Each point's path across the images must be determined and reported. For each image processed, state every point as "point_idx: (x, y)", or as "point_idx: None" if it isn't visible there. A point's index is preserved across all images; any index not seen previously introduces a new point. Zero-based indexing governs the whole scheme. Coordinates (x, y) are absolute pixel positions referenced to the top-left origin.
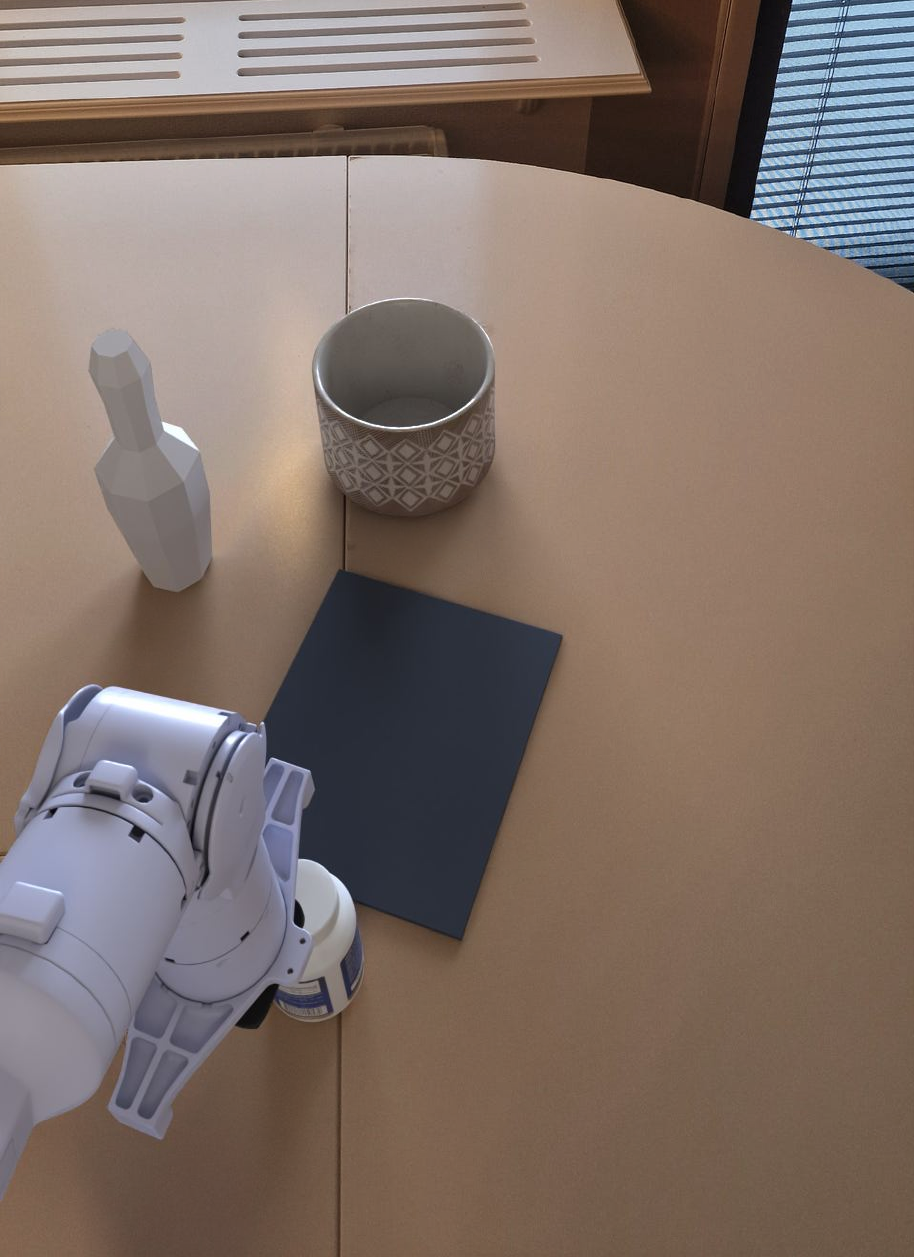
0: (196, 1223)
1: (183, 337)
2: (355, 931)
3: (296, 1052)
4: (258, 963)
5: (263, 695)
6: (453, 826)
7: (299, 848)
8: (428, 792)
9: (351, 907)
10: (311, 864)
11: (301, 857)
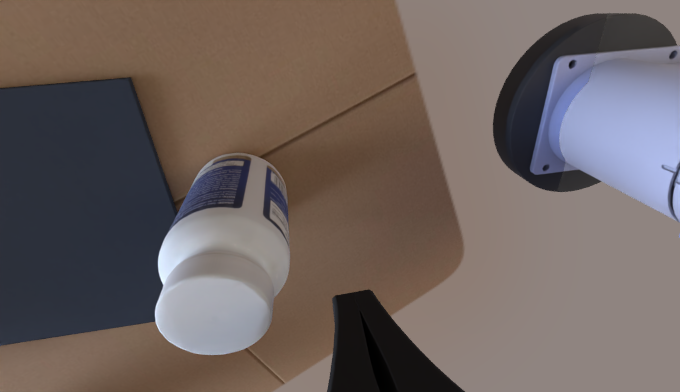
0: (435, 179)
1: None
2: (198, 210)
3: (306, 174)
4: None
5: (69, 339)
6: (25, 141)
7: None
8: (16, 181)
9: (177, 234)
10: (162, 327)
11: None
